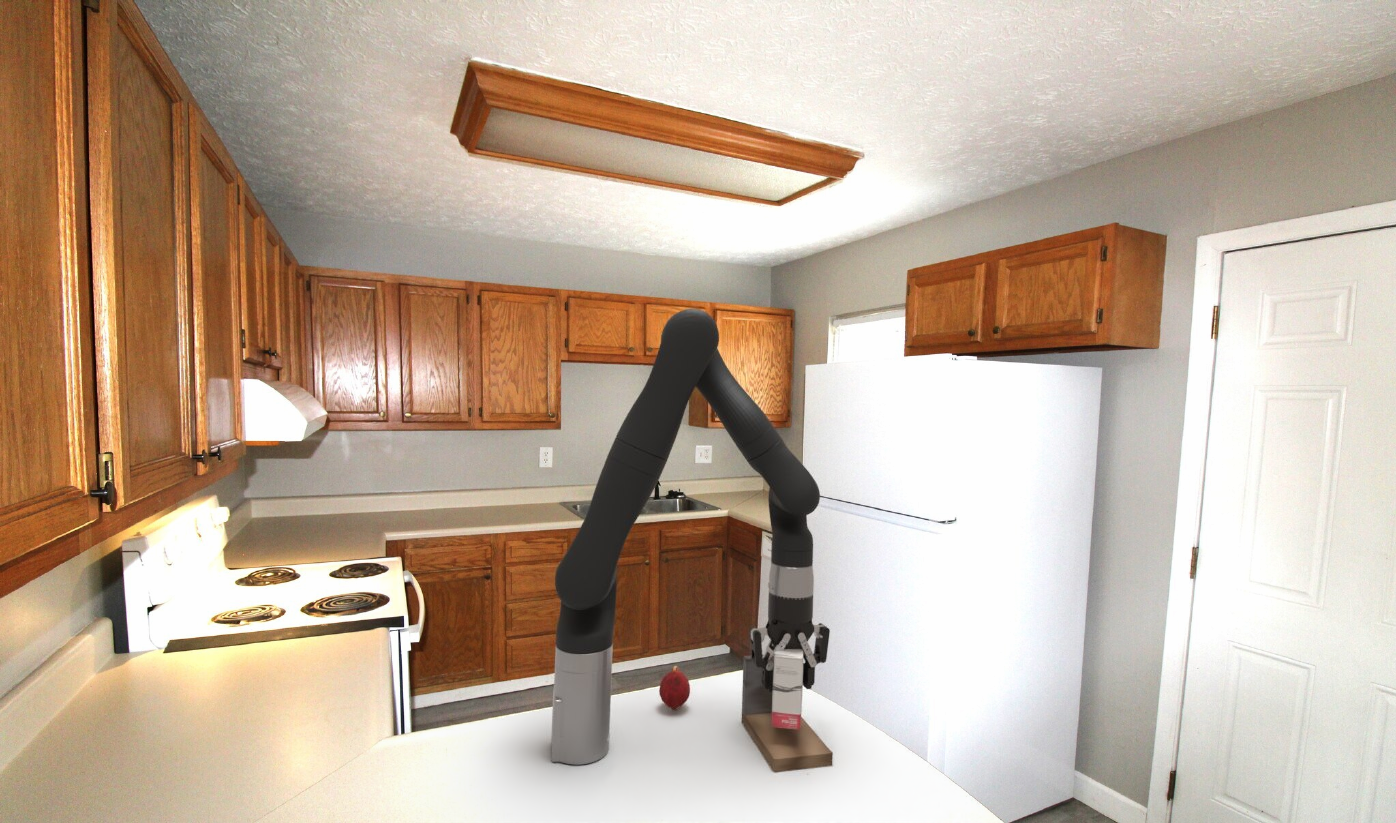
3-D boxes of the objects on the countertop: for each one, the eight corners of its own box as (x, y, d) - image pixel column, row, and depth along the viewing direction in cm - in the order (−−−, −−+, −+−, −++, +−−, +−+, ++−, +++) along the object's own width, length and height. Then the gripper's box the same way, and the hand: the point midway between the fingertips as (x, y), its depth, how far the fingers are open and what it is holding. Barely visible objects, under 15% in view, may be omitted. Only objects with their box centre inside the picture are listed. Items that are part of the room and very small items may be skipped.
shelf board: (773, 772, 95) (776, 694, 95) (741, 722, 111) (743, 655, 111) (832, 765, 98) (834, 690, 98) (792, 717, 113) (794, 652, 113)
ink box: (802, 731, 98) (803, 657, 99) (771, 728, 99) (771, 654, 100) (803, 707, 107) (803, 638, 107) (774, 704, 108) (774, 636, 108)
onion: (688, 717, 112) (690, 673, 112) (657, 716, 112) (659, 672, 112) (689, 703, 118) (691, 661, 118) (659, 701, 118) (661, 660, 118)
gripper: (758, 597, 98) (755, 702, 98) (839, 594, 102) (837, 695, 101) (743, 585, 106) (740, 682, 105) (820, 582, 109) (817, 676, 109)
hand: (788, 688), depth 103 cm, fingers closed on ink box, 6 cm apart
